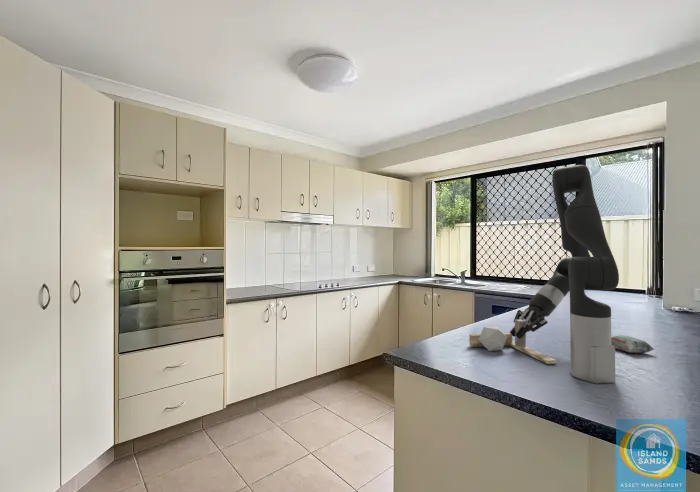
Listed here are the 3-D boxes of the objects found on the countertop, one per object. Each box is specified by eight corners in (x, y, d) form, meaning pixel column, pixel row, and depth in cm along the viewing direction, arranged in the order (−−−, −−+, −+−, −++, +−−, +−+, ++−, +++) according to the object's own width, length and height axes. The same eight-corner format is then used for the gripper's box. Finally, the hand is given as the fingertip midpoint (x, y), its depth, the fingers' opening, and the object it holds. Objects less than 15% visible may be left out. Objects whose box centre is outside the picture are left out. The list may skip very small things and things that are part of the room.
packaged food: (631, 357, 108) (631, 341, 108) (600, 346, 119) (600, 332, 120) (655, 356, 109) (655, 341, 109) (622, 345, 120) (622, 332, 120)
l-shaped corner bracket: (556, 363, 101) (556, 330, 101) (504, 366, 98) (504, 332, 98) (512, 343, 122) (512, 316, 122) (469, 345, 120) (469, 317, 120)
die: (507, 356, 110) (514, 330, 114) (484, 344, 110) (492, 318, 114) (492, 357, 117) (499, 333, 121) (471, 346, 117) (479, 322, 121)
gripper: (526, 290, 123) (496, 324, 122) (554, 295, 110) (520, 333, 108) (539, 304, 124) (509, 337, 122) (568, 311, 110) (535, 349, 109)
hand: (514, 335), depth 115 cm, fingers closed on l-shaped corner bracket, 2 cm apart
